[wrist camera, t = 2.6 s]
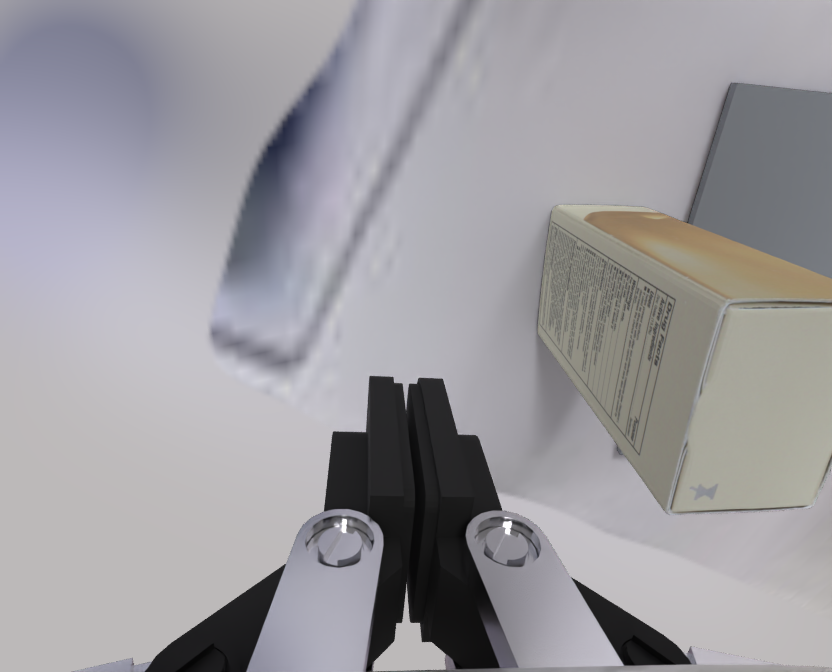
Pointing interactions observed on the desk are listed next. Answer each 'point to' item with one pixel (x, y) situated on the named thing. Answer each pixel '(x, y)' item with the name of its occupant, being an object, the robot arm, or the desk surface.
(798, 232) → the desk mat
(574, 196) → the desk surface
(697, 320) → the skincare box
